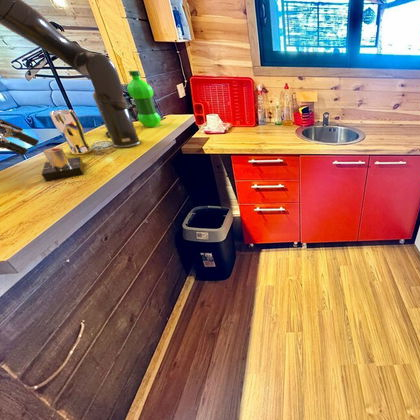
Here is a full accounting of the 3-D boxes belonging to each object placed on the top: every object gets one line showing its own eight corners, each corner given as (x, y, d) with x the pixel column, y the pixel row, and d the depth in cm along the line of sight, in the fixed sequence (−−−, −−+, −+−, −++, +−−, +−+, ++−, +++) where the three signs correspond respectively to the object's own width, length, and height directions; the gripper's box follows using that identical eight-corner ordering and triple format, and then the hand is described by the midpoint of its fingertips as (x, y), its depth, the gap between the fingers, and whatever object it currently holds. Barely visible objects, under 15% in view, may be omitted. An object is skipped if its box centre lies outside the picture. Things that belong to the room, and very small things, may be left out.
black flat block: (49, 169, 86) (44, 161, 85) (83, 163, 91) (79, 156, 90) (45, 181, 79) (41, 173, 78) (83, 174, 84) (79, 167, 82)
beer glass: (72, 149, 101) (52, 110, 93) (94, 147, 104) (76, 109, 96) (67, 156, 96) (45, 114, 88) (91, 153, 99) (71, 113, 91)
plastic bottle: (166, 123, 137) (151, 70, 123) (156, 128, 128) (138, 72, 114) (147, 122, 137) (130, 69, 123) (136, 128, 128) (115, 71, 114)
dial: (48, 169, 81) (38, 151, 78) (59, 163, 84) (49, 146, 81) (64, 168, 81) (54, 151, 78) (73, 163, 85) (64, 146, 82)
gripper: (-65, 105, 61) (29, 145, 72) (-30, 95, 72) (46, 131, 82) (-80, 129, 62) (15, 166, 73) (-44, 115, 72) (34, 149, 83)
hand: (31, 147), depth 78 cm, fingers open, 8 cm apart
